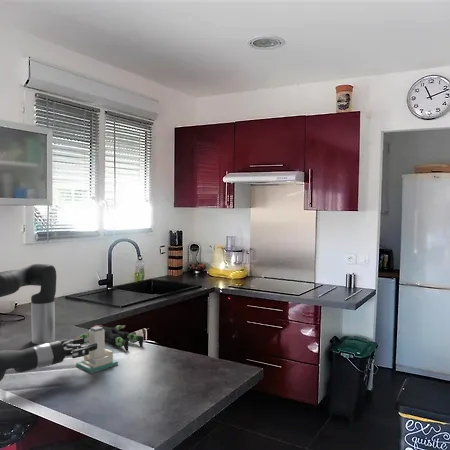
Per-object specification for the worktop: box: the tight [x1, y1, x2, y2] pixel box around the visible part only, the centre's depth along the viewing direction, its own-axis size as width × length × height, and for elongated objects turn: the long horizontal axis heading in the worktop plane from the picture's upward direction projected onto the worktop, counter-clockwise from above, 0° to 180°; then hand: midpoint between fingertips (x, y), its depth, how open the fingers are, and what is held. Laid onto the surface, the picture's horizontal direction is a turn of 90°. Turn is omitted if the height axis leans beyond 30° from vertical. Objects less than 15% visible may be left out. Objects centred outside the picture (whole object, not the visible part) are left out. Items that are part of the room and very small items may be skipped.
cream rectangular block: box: [88, 326, 106, 364], centre depth 163 cm, size 4×5×13 cm
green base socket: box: [75, 348, 119, 374], centre depth 163 cm, size 10×11×5 cm
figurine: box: [75, 324, 144, 352], centre depth 192 cm, size 26×6×30 cm
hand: (90, 343), depth 160 cm, fingers open, 8 cm apart
